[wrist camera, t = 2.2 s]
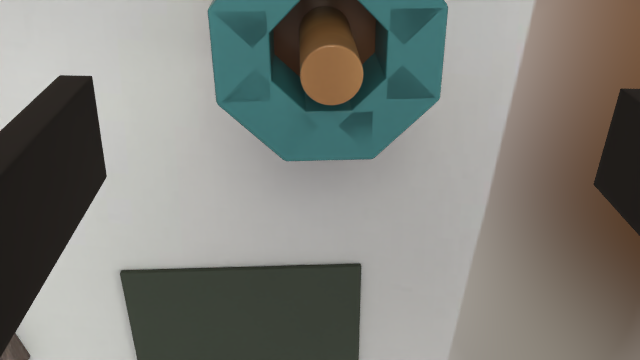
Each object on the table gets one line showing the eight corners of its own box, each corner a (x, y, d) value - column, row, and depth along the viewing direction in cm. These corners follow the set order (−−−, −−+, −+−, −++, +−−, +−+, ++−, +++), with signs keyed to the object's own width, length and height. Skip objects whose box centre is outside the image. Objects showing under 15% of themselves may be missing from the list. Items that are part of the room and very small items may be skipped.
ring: (434, -81, 26) (455, -71, 23) (419, 123, 31) (434, 158, 28) (212, -78, 26) (199, -67, 23) (230, 128, 31) (221, 163, 27)
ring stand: (387, -80, 35) (447, -37, 21) (382, 57, 39) (429, 168, 25) (247, -78, 35) (215, -34, 21) (255, 59, 38) (233, 172, 25)
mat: (360, 263, 46) (361, 266, 46) (356, 411, 54) (356, 415, 53) (121, 270, 46) (119, 273, 45) (151, 418, 53) (150, 422, 53)
